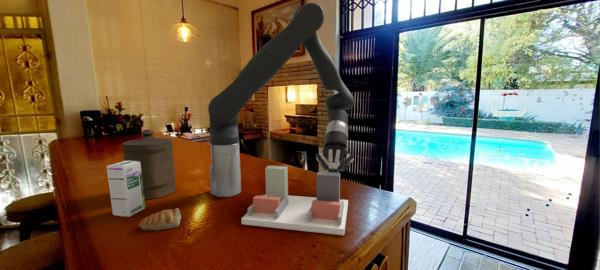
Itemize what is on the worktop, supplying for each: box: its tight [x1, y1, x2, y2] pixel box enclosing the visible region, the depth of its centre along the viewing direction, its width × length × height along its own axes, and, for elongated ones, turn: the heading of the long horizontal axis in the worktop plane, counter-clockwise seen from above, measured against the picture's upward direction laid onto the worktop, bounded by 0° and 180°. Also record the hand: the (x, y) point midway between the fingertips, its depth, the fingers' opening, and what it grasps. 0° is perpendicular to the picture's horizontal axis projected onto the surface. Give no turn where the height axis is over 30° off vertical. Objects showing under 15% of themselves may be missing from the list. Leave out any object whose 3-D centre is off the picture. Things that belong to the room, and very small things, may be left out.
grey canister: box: [122, 129, 177, 201], centre depth 88 cm, size 15×15×22 cm
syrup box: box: [106, 160, 147, 218], centre depth 73 cm, size 6×6×14 cm
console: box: [241, 194, 349, 236], centre depth 71 cm, size 26×18×6 cm
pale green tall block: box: [264, 165, 289, 202], centre depth 77 cm, size 6×3×10 cm, turn 77°
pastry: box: [138, 207, 182, 231], centre depth 66 cm, size 9×7×4 cm
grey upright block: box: [316, 171, 341, 202], centre depth 70 cm, size 6×3×10 cm, turn 77°
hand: (332, 181), depth 79 cm, fingers closed
